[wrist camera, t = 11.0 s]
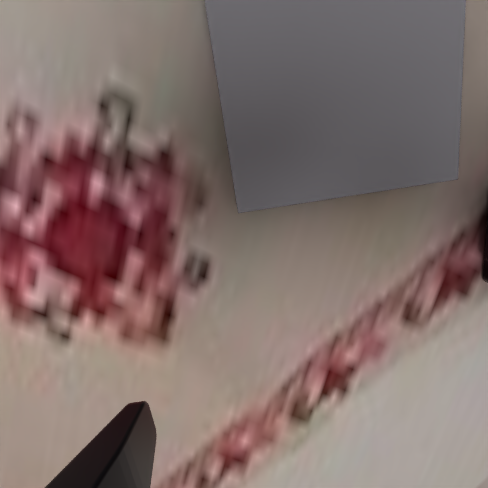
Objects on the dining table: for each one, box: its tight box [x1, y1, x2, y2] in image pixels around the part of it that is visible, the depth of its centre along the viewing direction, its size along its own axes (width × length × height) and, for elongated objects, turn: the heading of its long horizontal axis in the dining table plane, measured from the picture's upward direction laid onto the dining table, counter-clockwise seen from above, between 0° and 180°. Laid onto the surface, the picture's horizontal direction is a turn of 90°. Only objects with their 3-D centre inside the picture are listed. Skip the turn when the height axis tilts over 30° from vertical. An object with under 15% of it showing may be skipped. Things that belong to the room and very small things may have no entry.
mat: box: [205, 0, 466, 213], centre depth 17 cm, size 12×12×2 cm
